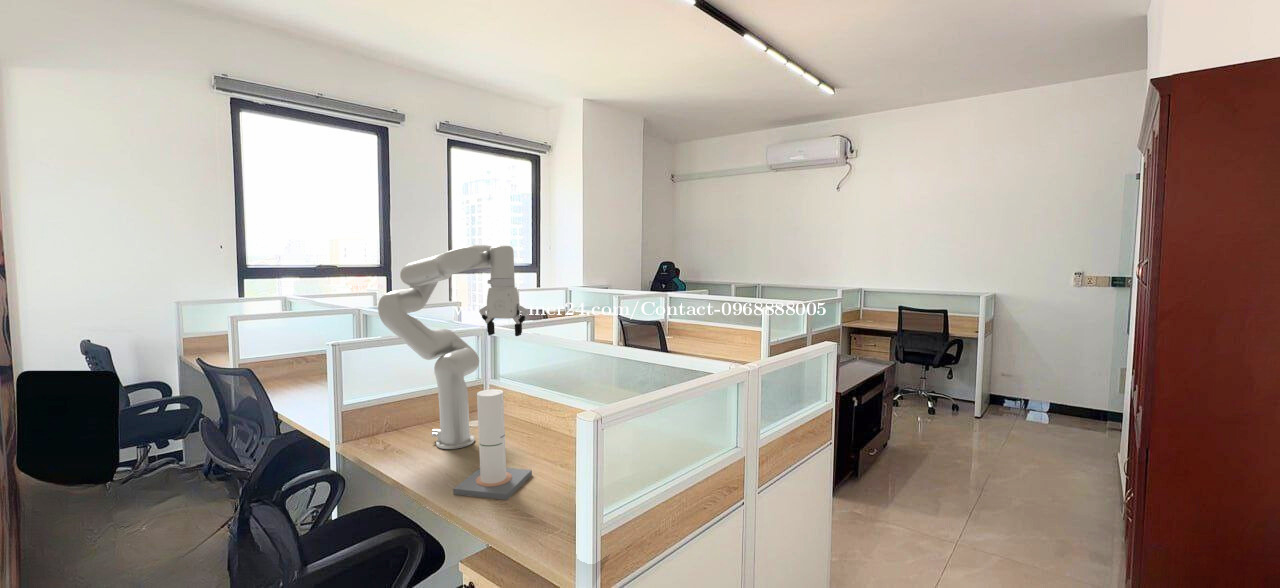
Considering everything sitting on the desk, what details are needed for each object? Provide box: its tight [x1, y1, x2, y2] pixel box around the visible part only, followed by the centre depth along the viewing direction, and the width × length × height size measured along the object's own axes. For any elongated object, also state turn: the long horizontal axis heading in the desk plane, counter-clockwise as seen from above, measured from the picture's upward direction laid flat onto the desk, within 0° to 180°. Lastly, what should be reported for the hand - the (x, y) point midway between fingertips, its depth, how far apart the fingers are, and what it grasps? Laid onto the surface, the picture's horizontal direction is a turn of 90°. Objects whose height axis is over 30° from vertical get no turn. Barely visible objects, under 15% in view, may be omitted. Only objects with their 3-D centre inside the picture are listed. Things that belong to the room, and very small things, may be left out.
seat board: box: [452, 467, 533, 501], centre depth 157 cm, size 16×16×2 cm
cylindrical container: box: [476, 388, 507, 484], centre depth 156 cm, size 7×7×25 cm
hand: (504, 335), depth 182 cm, fingers open, 9 cm apart
